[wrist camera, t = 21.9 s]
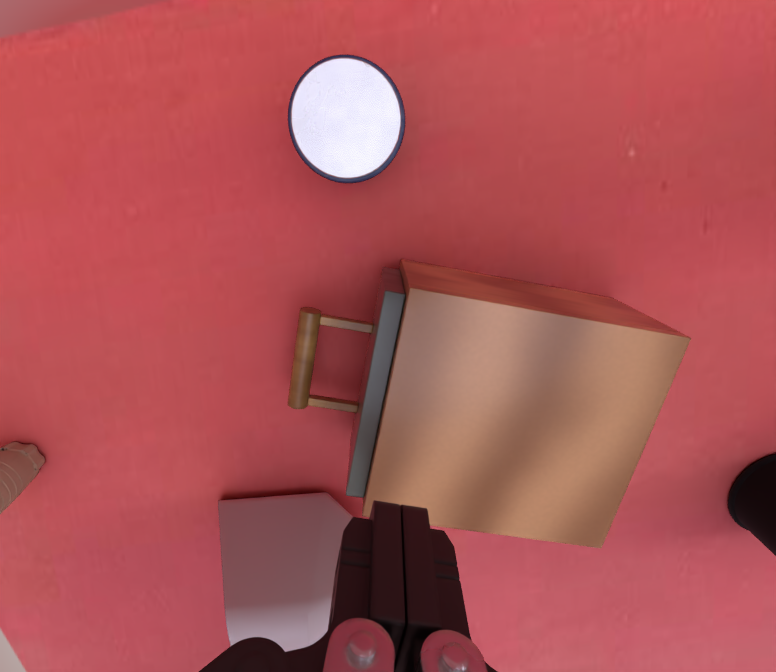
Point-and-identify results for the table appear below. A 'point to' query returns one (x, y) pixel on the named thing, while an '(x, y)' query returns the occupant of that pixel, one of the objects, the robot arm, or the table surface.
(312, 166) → the can
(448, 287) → the cabinet
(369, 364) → the drawer
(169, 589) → the table surface
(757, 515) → the aerosol can
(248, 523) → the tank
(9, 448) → the handle
